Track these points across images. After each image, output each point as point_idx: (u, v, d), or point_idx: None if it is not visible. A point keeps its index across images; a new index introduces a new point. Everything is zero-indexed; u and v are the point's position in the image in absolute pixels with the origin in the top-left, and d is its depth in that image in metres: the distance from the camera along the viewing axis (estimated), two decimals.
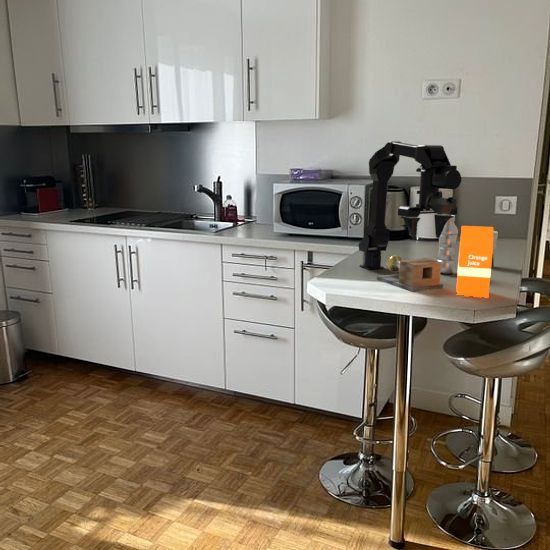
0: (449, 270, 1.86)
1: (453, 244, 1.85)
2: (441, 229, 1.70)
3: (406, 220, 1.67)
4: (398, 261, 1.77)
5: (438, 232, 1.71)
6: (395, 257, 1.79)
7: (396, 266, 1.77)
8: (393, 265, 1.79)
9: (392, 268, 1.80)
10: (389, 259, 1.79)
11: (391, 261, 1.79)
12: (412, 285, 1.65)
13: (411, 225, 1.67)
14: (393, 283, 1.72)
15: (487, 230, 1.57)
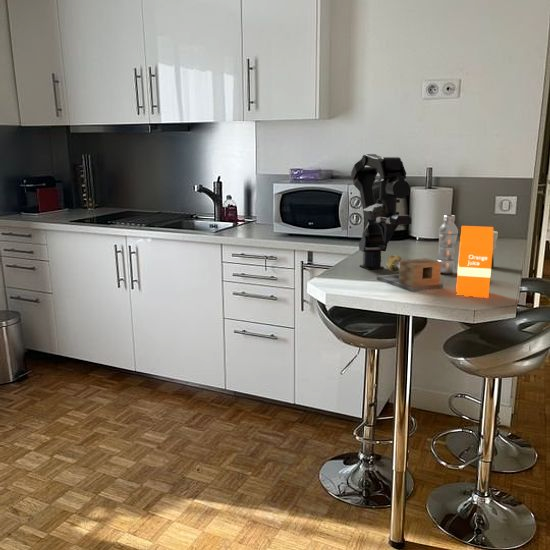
0: (449, 270, 1.86)
1: (453, 244, 1.85)
2: (384, 235, 1.82)
3: None
4: (398, 261, 1.77)
5: None
6: (395, 257, 1.79)
7: (396, 266, 1.77)
8: (393, 265, 1.79)
9: (392, 268, 1.80)
10: (389, 259, 1.79)
11: (391, 261, 1.79)
12: (412, 285, 1.65)
13: None
14: (393, 283, 1.72)
15: (487, 230, 1.57)
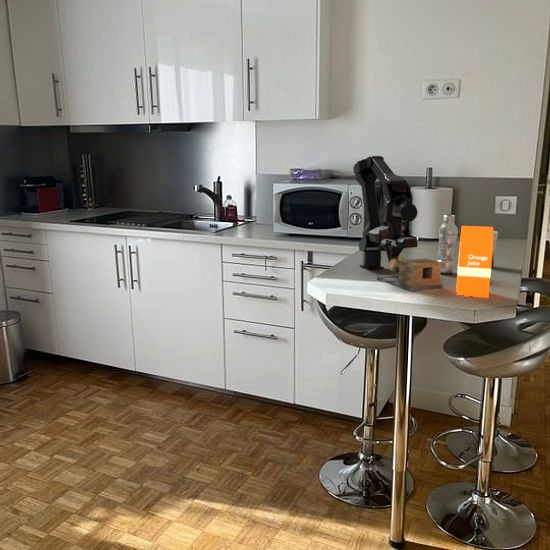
0: (449, 270, 1.86)
1: (453, 244, 1.85)
2: (390, 257, 1.80)
3: None
4: None
5: None
6: (398, 258, 1.78)
7: (399, 267, 1.76)
8: (396, 266, 1.77)
9: (395, 269, 1.78)
10: (392, 260, 1.78)
11: (394, 262, 1.78)
12: (412, 285, 1.65)
13: None
14: (393, 283, 1.72)
15: (487, 230, 1.57)
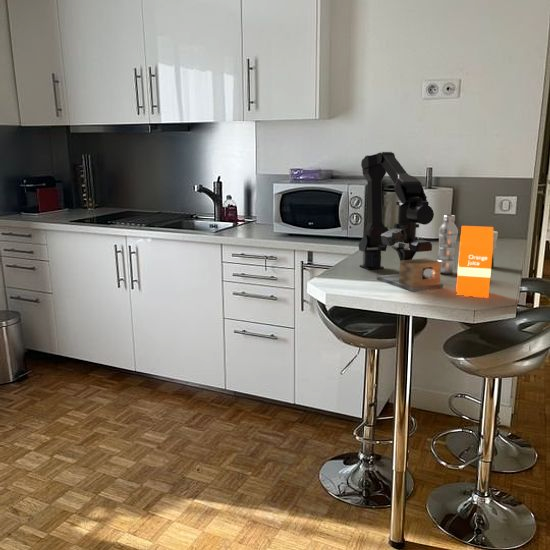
0: (449, 270, 1.86)
1: (453, 244, 1.85)
2: None
3: None
4: None
5: None
6: None
7: None
8: None
9: None
10: None
11: None
12: (412, 285, 1.65)
13: None
14: (393, 283, 1.72)
15: (487, 230, 1.57)
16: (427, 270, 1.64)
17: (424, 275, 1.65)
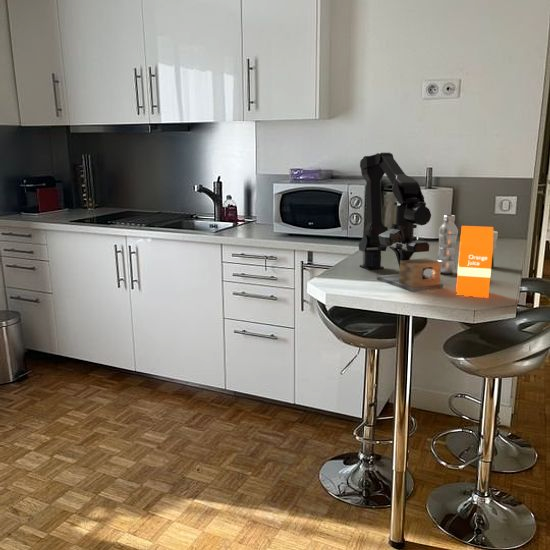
0: (449, 270, 1.86)
1: (453, 244, 1.85)
2: None
3: None
4: None
5: None
6: None
7: None
8: None
9: None
10: None
11: None
12: (412, 285, 1.65)
13: None
14: (393, 283, 1.72)
15: (487, 230, 1.57)
16: (427, 270, 1.64)
17: (424, 275, 1.65)
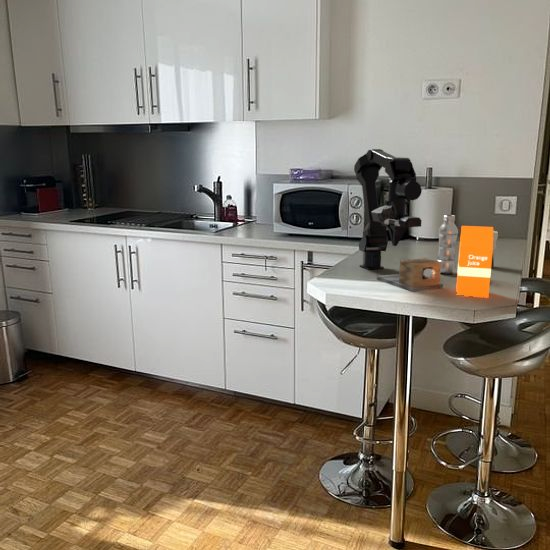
0: (449, 270, 1.86)
1: (453, 244, 1.85)
2: (393, 238, 1.78)
3: None
4: None
5: None
6: None
7: None
8: None
9: None
10: None
11: None
12: (412, 285, 1.65)
13: None
14: (393, 283, 1.72)
15: (487, 230, 1.57)
16: (427, 270, 1.64)
17: (424, 275, 1.65)
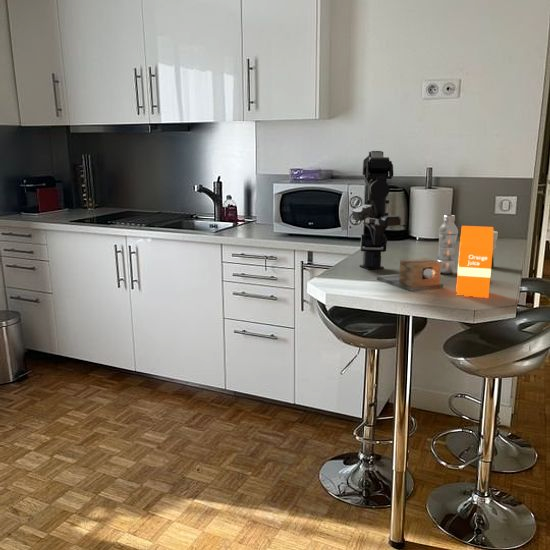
0: (449, 270, 1.86)
1: (453, 244, 1.85)
2: (374, 236, 1.79)
3: None
4: None
5: None
6: None
7: None
8: None
9: None
10: None
11: None
12: (412, 285, 1.65)
13: None
14: (393, 283, 1.72)
15: (487, 230, 1.57)
16: (427, 270, 1.64)
17: (424, 275, 1.65)
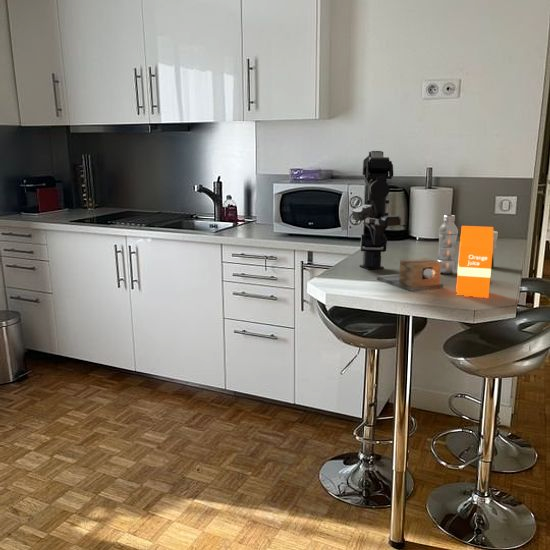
0: (449, 270, 1.86)
1: (453, 244, 1.85)
2: (374, 236, 1.79)
3: None
4: None
5: None
6: None
7: None
8: None
9: None
10: None
11: None
12: (412, 285, 1.65)
13: None
14: (393, 283, 1.72)
15: (487, 230, 1.57)
16: (427, 270, 1.64)
17: (424, 275, 1.65)
